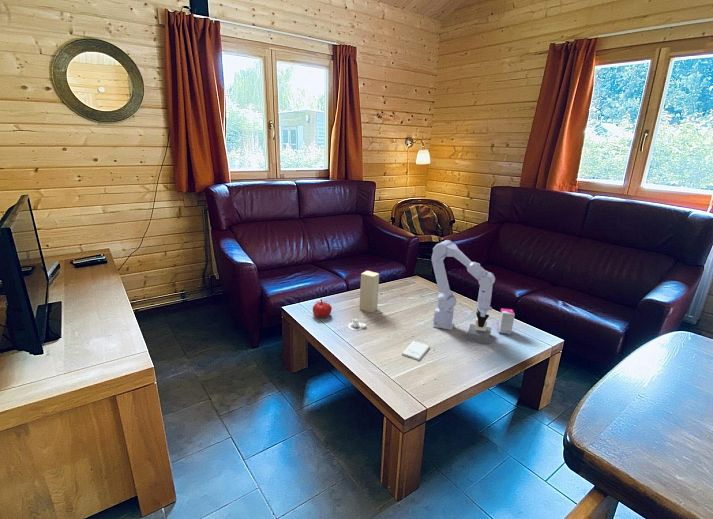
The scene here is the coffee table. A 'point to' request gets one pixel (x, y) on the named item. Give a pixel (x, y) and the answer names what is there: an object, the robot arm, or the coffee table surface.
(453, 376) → the coffee table surface
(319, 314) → the pomegranate
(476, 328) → the cream cube
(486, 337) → the gray block
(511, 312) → the supplement box
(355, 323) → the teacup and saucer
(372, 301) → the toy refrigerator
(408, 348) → the external hard drive
